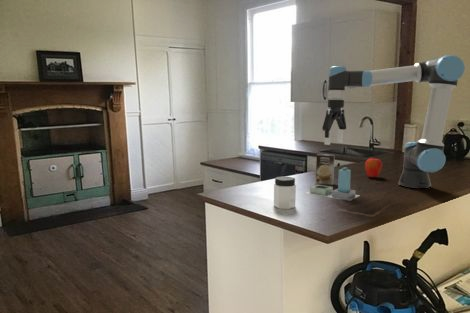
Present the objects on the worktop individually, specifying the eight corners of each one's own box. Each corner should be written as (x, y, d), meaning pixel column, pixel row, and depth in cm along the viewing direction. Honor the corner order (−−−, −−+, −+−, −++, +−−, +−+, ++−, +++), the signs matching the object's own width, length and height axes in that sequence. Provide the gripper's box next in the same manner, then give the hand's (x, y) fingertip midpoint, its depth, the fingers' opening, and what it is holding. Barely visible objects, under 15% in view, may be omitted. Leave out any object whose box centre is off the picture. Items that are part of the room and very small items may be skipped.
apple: (361, 177, 222) (362, 156, 221) (369, 175, 228) (370, 155, 227) (376, 179, 216) (377, 158, 214) (384, 177, 222) (385, 157, 220)
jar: (282, 202, 166) (282, 175, 164) (298, 206, 161) (299, 177, 159) (270, 206, 159) (270, 178, 158) (286, 210, 154) (287, 181, 152)
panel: (360, 197, 175) (360, 190, 175) (350, 202, 166) (350, 194, 166) (316, 190, 189) (316, 183, 188) (304, 195, 180) (304, 187, 179)
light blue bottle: (349, 195, 174) (350, 167, 172) (346, 197, 171) (347, 168, 169) (341, 194, 177) (342, 166, 175) (337, 196, 174) (338, 167, 172)
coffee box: (314, 185, 201) (315, 154, 199) (316, 182, 207) (317, 153, 205) (332, 186, 198) (334, 155, 196) (333, 184, 204) (335, 154, 202)
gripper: (340, 99, 195) (338, 141, 198) (316, 99, 176) (314, 144, 179) (354, 99, 190) (352, 142, 193) (330, 99, 171) (328, 146, 174)
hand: (333, 143), depth 186 cm, fingers open, 13 cm apart
